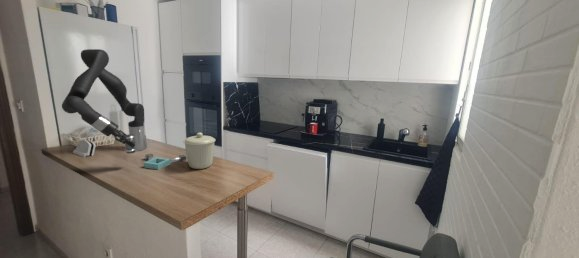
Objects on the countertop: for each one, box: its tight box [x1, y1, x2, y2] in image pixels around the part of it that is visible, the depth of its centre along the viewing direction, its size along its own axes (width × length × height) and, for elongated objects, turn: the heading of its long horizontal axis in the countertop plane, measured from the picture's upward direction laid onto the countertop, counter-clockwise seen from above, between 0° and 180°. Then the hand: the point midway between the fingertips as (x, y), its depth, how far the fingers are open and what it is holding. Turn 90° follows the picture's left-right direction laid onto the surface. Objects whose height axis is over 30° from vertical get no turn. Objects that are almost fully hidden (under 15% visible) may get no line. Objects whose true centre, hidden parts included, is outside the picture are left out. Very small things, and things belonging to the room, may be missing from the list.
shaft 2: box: [169, 154, 188, 164], centre depth 150 cm, size 12×4×3 cm, turn 137°
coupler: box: [124, 133, 136, 154], centre depth 134 cm, size 5×5×10 cm
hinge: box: [72, 139, 96, 158], centre depth 157 cm, size 17×5×10 cm, turn 61°
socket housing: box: [143, 156, 172, 171], centre depth 143 cm, size 10×10×3 cm
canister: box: [183, 132, 216, 170], centre depth 143 cm, size 18×18×21 cm
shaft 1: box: [144, 153, 155, 161], centre depth 150 cm, size 12×4×3 cm, turn 47°
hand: (134, 144), depth 136 cm, fingers closed on coupler, 4 cm apart
